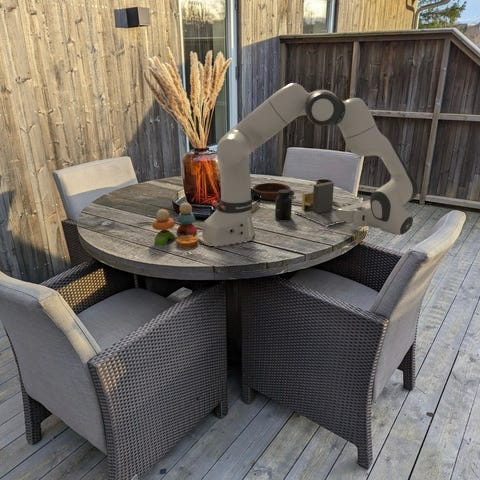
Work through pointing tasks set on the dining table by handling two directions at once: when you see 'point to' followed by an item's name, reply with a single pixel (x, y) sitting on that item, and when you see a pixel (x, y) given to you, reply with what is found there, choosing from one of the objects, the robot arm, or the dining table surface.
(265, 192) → the dish
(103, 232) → the dining table surface
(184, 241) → the wooden stacking toy
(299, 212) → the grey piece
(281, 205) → the supplement bottle
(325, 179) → the mug
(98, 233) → the dining table surface
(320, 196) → the gray rectangular block
